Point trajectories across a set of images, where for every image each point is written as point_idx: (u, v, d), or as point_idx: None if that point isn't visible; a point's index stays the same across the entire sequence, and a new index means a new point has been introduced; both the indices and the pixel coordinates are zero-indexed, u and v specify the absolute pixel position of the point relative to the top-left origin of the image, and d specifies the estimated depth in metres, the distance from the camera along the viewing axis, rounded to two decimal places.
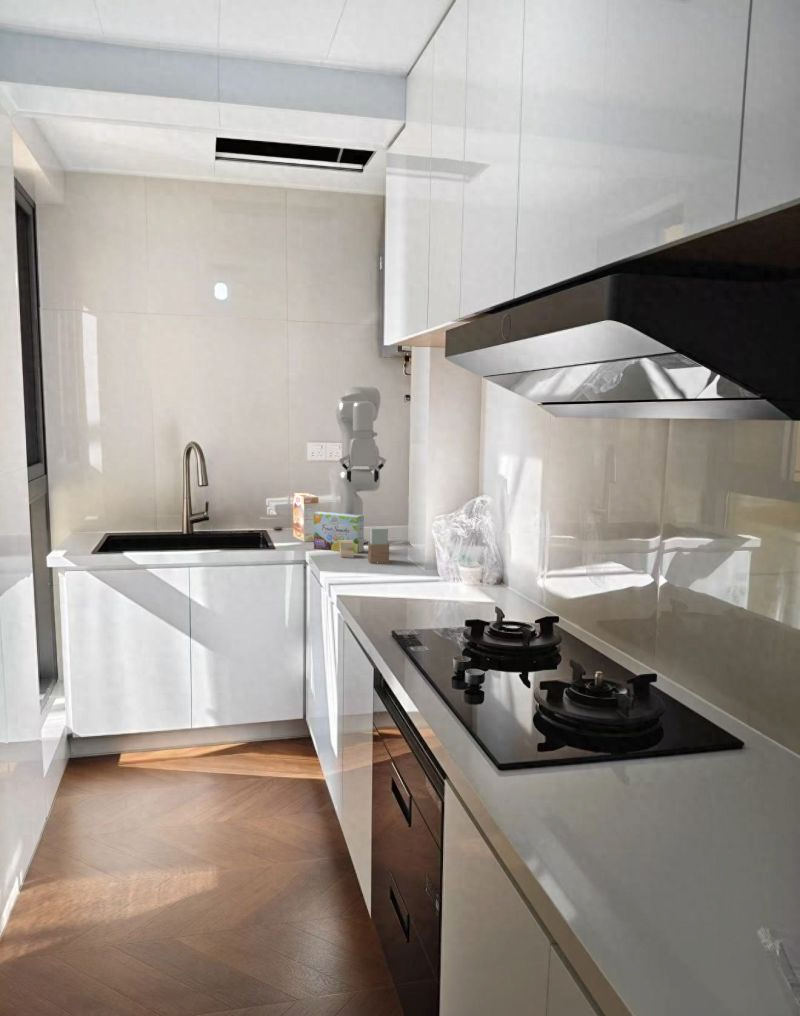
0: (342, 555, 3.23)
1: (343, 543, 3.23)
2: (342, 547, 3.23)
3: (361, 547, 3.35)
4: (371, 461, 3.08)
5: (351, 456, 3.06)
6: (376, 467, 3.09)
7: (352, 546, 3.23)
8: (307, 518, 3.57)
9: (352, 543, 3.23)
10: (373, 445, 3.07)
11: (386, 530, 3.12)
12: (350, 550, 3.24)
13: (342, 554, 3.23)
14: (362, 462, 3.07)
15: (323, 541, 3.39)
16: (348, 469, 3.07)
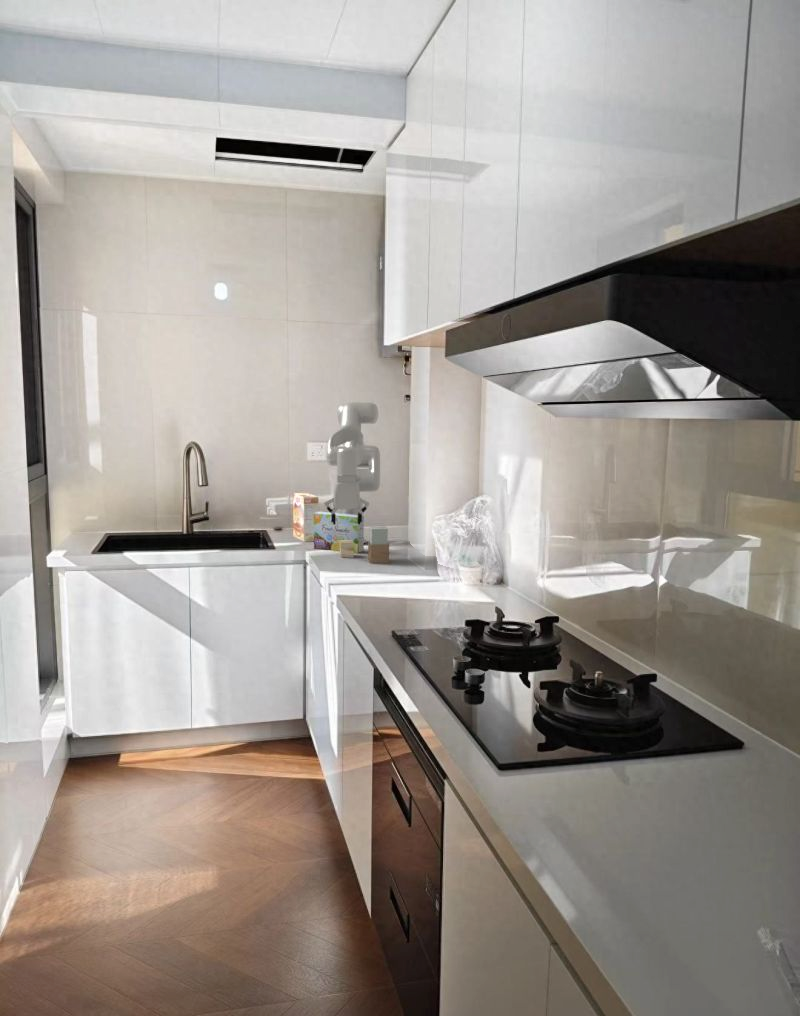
0: (342, 555, 3.23)
1: (343, 543, 3.23)
2: (342, 547, 3.23)
3: (361, 547, 3.35)
4: (354, 504, 3.21)
5: (335, 500, 3.20)
6: (359, 510, 3.23)
7: (352, 546, 3.23)
8: (307, 518, 3.57)
9: (352, 543, 3.23)
10: (356, 489, 3.21)
11: (386, 530, 3.12)
12: (350, 550, 3.24)
13: (342, 554, 3.23)
14: (346, 505, 3.21)
15: (323, 541, 3.39)
16: (332, 512, 3.21)
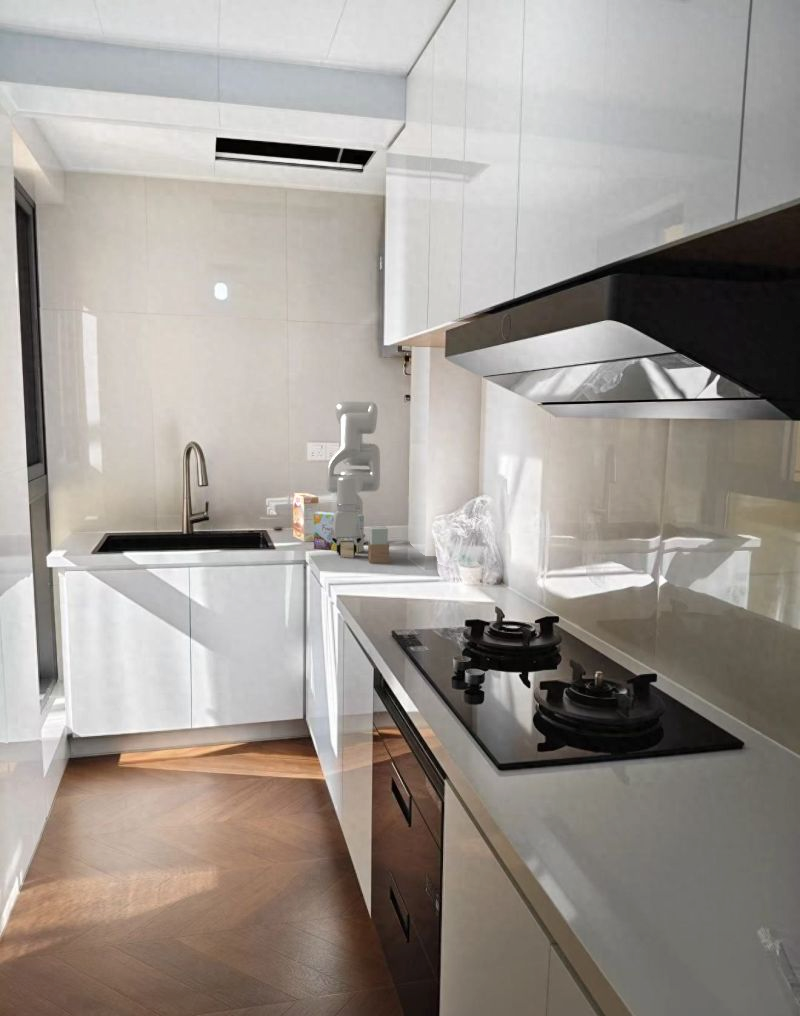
0: (342, 555, 3.23)
1: (343, 543, 3.23)
2: (342, 547, 3.23)
3: (361, 547, 3.35)
4: (354, 533, 3.23)
5: (335, 528, 3.22)
6: (355, 540, 3.24)
7: (352, 546, 3.23)
8: (307, 518, 3.57)
9: (352, 543, 3.23)
10: (356, 518, 3.23)
11: (386, 530, 3.12)
12: (350, 550, 3.23)
13: (342, 554, 3.23)
14: (346, 534, 3.23)
15: (323, 541, 3.39)
16: (338, 543, 3.24)
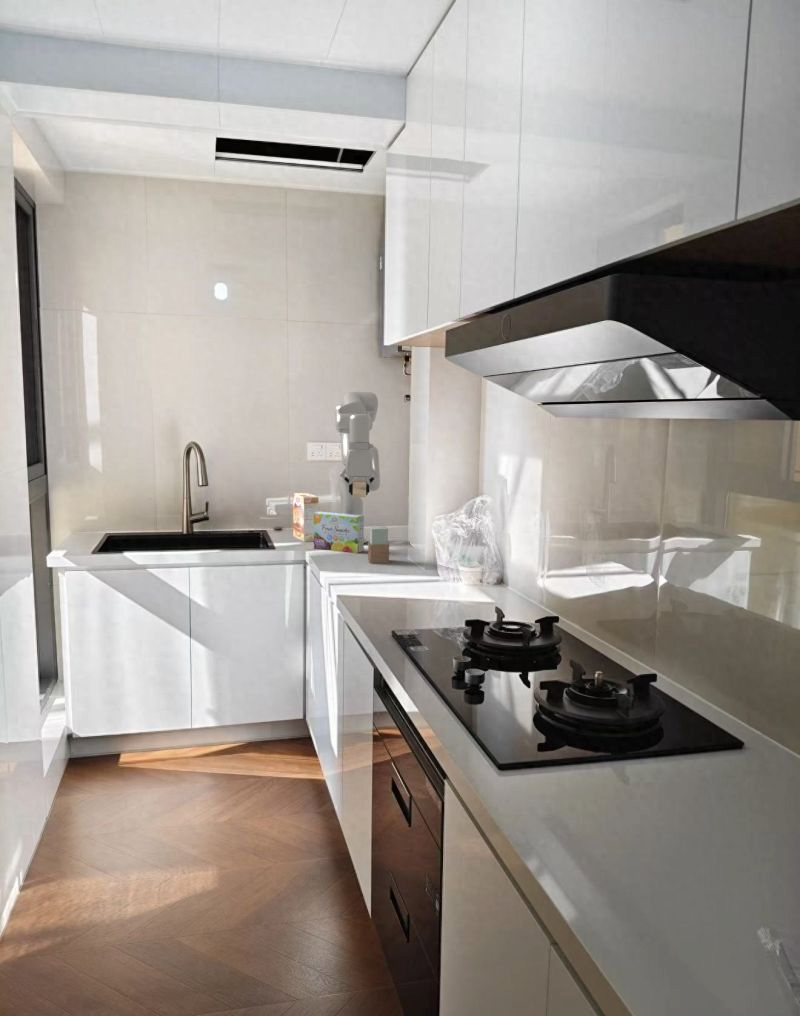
0: (354, 494, 3.16)
1: (355, 483, 3.16)
2: (354, 486, 3.16)
3: (361, 547, 3.35)
4: (367, 472, 3.16)
5: (347, 467, 3.15)
6: (368, 480, 3.17)
7: (364, 485, 3.16)
8: (307, 518, 3.57)
9: (364, 482, 3.16)
10: (369, 456, 3.16)
11: (386, 530, 3.12)
12: (363, 490, 3.16)
13: (354, 493, 3.16)
14: (358, 473, 3.16)
15: (323, 541, 3.39)
16: (350, 482, 3.17)
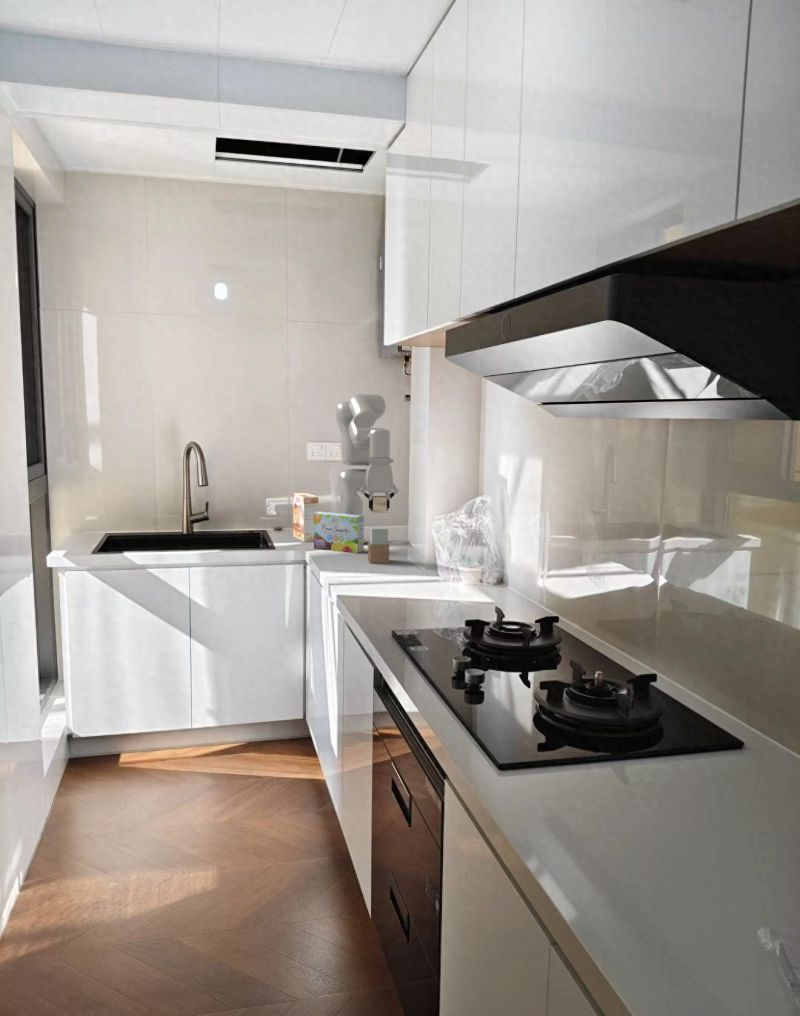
0: (375, 510, 3.11)
1: (376, 498, 3.10)
2: (375, 502, 3.10)
3: (361, 547, 3.35)
4: (387, 487, 3.11)
5: (368, 482, 3.10)
6: (388, 495, 3.12)
7: (385, 501, 3.11)
8: (307, 518, 3.57)
9: (385, 498, 3.11)
10: (389, 471, 3.10)
11: (386, 530, 3.12)
12: (383, 506, 3.11)
13: (375, 509, 3.11)
14: (379, 488, 3.10)
15: (323, 541, 3.39)
16: (370, 498, 3.11)
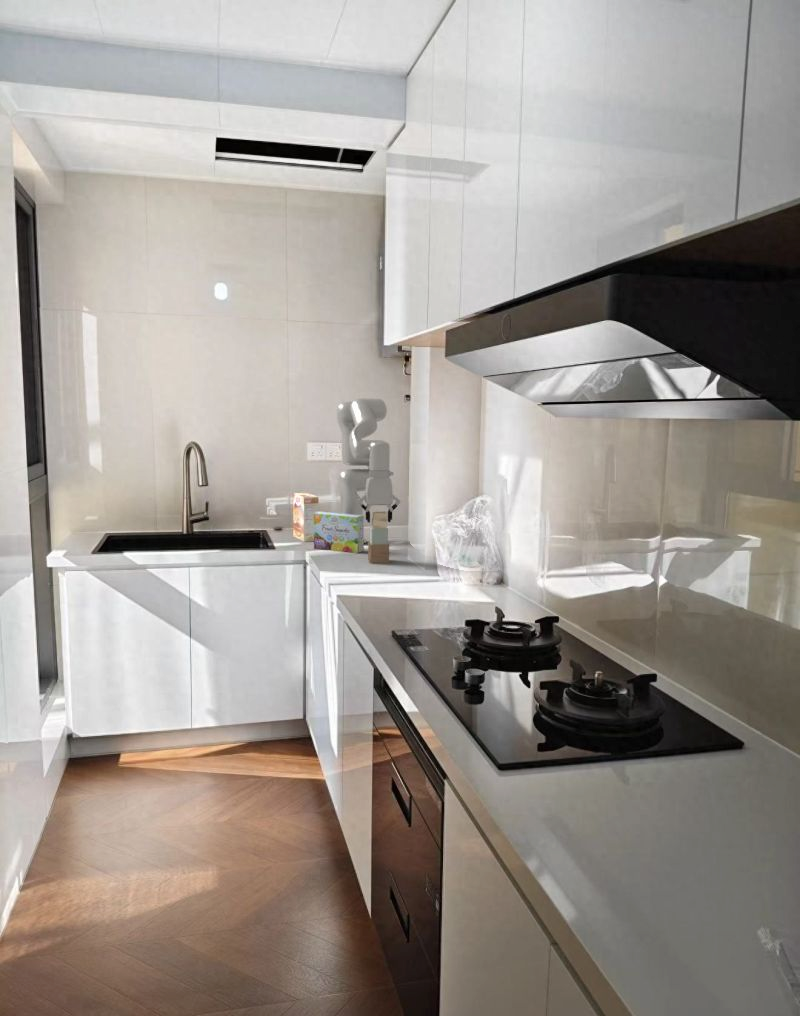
0: (375, 526, 3.12)
1: (376, 514, 3.11)
2: (375, 518, 3.11)
3: (361, 547, 3.35)
4: (387, 500, 3.11)
5: (368, 495, 3.10)
6: (390, 507, 3.13)
7: (385, 517, 3.12)
8: (307, 518, 3.57)
9: (385, 514, 3.12)
10: (389, 484, 3.11)
11: (386, 530, 3.12)
12: (383, 521, 3.12)
13: (375, 525, 3.12)
14: (378, 501, 3.11)
15: (323, 541, 3.39)
16: (367, 510, 3.12)
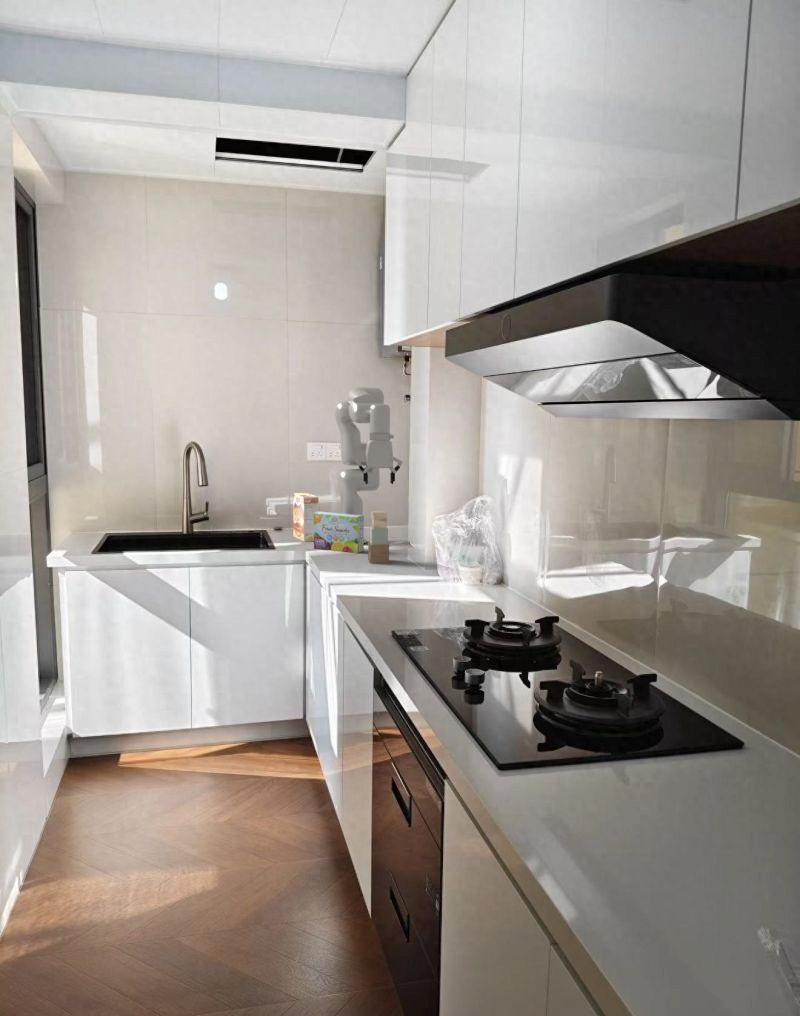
0: (375, 526, 3.12)
1: (376, 514, 3.11)
2: (375, 518, 3.11)
3: (361, 547, 3.35)
4: (388, 463, 3.10)
5: (368, 458, 3.09)
6: (392, 469, 3.11)
7: (385, 517, 3.12)
8: (307, 518, 3.57)
9: (385, 514, 3.12)
10: (390, 447, 3.09)
11: (386, 530, 3.12)
12: (383, 521, 3.12)
13: (375, 525, 3.12)
14: (379, 464, 3.09)
15: (323, 541, 3.39)
16: (365, 471, 3.10)
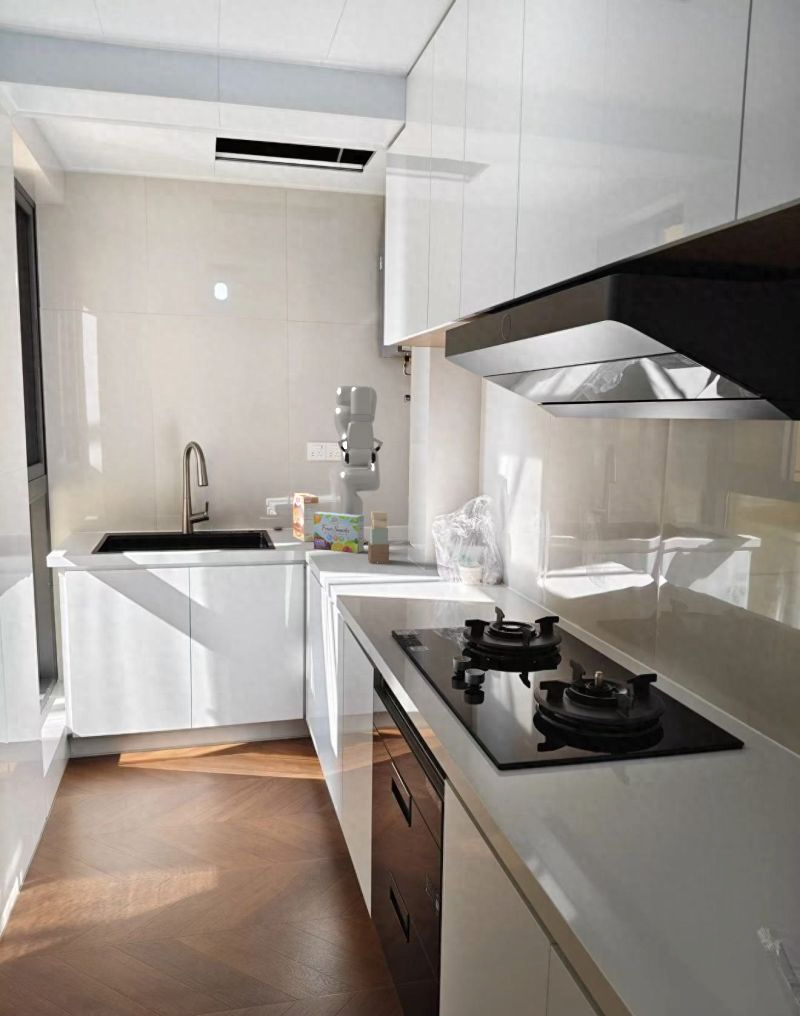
0: (375, 526, 3.12)
1: (376, 514, 3.11)
2: (375, 518, 3.11)
3: (361, 547, 3.35)
4: (368, 443, 3.19)
5: (349, 439, 3.17)
6: (373, 449, 3.20)
7: (385, 517, 3.12)
8: (307, 518, 3.57)
9: (385, 514, 3.12)
10: (370, 428, 3.18)
11: (386, 530, 3.12)
12: (383, 521, 3.12)
13: (375, 525, 3.12)
14: (360, 444, 3.18)
15: (323, 541, 3.39)
16: (346, 451, 3.19)
